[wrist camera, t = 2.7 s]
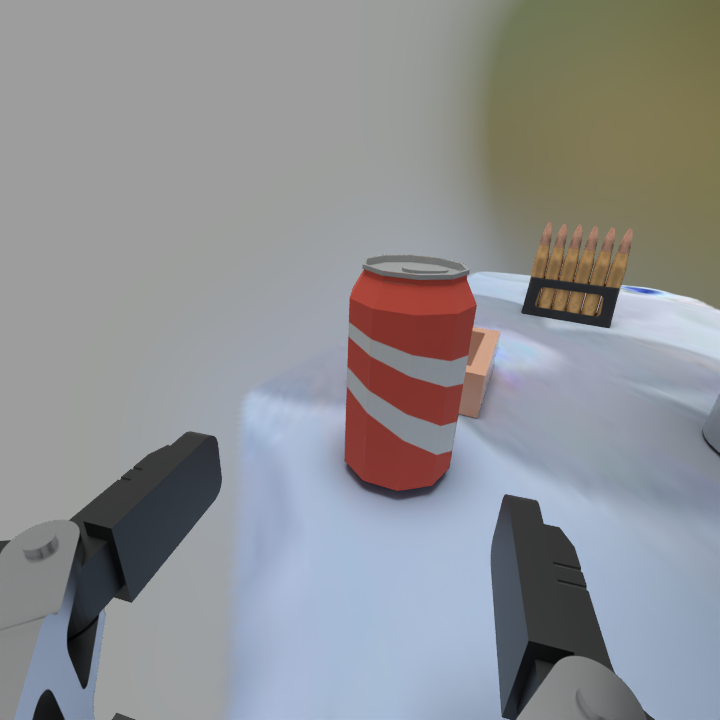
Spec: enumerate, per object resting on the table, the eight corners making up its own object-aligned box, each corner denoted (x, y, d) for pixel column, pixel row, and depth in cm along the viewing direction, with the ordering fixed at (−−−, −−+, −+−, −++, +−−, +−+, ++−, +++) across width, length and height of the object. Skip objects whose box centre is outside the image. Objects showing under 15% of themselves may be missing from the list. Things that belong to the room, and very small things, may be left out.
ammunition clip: (521, 313, 55) (541, 222, 50) (523, 310, 56) (542, 221, 51) (609, 328, 50) (641, 229, 45) (609, 324, 52) (639, 228, 47)
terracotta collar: (391, 345, 41) (393, 313, 40) (493, 365, 38) (500, 331, 36) (349, 386, 33) (350, 347, 31) (477, 418, 29) (485, 375, 28)
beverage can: (466, 489, 22) (508, 276, 17) (356, 507, 21) (368, 279, 16) (424, 429, 28) (446, 253, 23) (334, 439, 26) (337, 253, 21)
